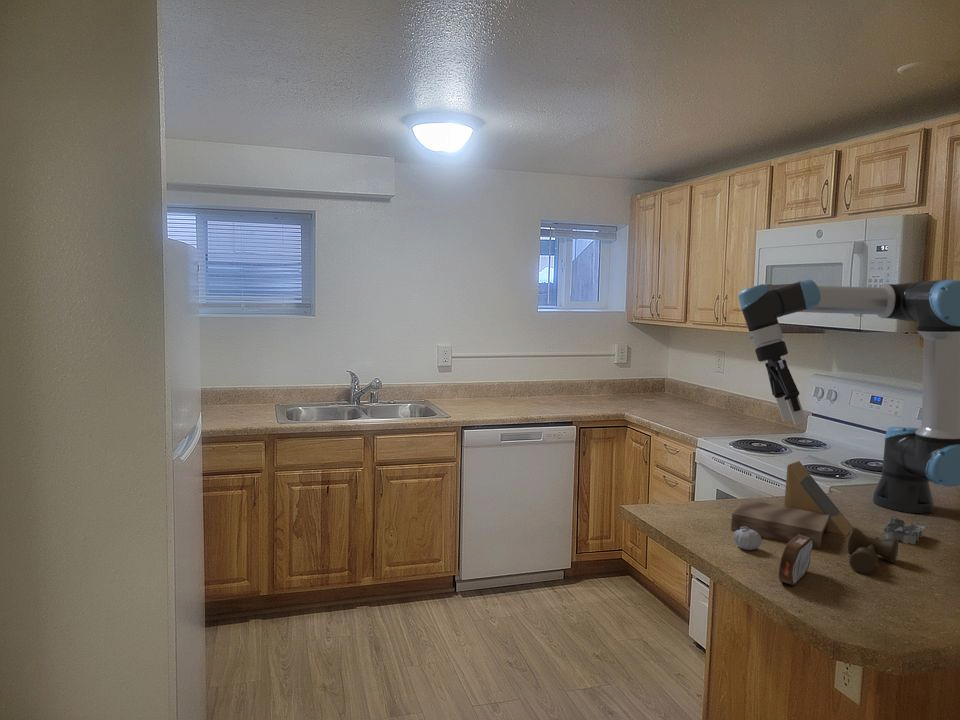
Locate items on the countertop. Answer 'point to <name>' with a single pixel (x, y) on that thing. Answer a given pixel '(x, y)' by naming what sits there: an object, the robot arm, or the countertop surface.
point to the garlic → (747, 538)
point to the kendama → (869, 551)
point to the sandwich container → (812, 498)
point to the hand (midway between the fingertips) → (794, 422)
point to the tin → (795, 559)
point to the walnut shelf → (780, 521)
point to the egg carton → (902, 531)
